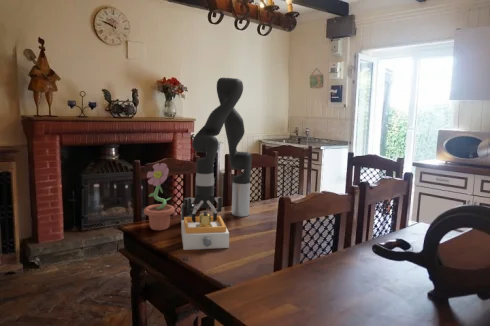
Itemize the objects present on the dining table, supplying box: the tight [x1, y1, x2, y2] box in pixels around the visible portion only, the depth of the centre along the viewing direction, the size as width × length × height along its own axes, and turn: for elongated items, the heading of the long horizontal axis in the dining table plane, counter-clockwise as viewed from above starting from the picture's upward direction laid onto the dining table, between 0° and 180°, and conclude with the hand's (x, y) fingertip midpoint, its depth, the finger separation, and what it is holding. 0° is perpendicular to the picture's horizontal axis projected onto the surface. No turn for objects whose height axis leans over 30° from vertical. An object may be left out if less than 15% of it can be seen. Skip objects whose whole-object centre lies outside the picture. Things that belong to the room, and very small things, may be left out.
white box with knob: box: [180, 215, 230, 251], centre depth 158 cm, size 23×18×8 cm
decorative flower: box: [143, 162, 176, 231], centre depth 172 cm, size 15×14×30 cm
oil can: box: [199, 210, 212, 227], centre depth 159 cm, size 5×5×10 cm
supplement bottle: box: [180, 197, 197, 221], centre depth 182 cm, size 7×7×12 cm
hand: (204, 221), depth 159 cm, fingers open, 8 cm apart
